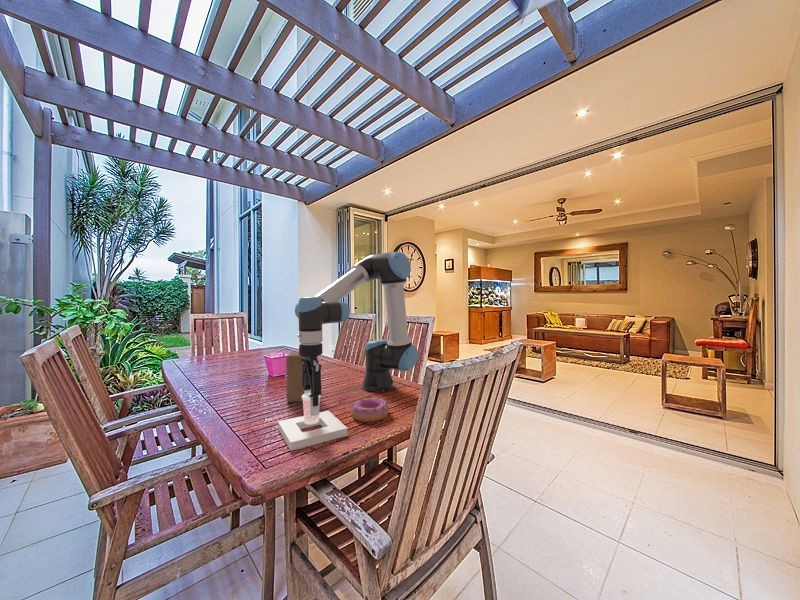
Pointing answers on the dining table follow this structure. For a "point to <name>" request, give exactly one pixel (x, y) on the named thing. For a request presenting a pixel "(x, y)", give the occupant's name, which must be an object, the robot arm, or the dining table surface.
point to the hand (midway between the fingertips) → (311, 411)
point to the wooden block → (294, 377)
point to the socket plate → (300, 440)
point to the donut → (370, 409)
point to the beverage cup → (306, 407)
